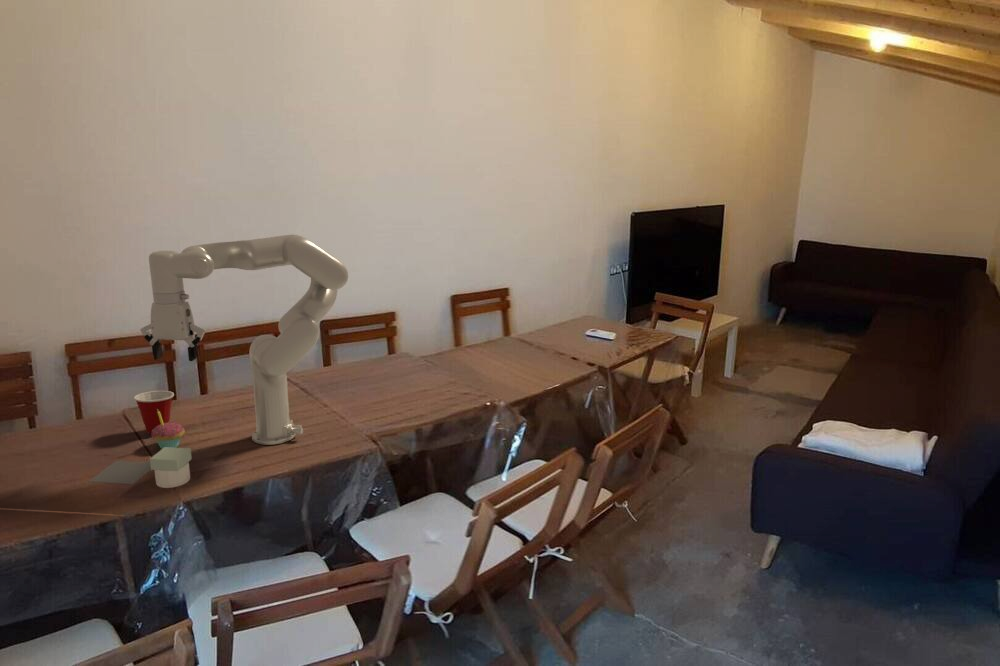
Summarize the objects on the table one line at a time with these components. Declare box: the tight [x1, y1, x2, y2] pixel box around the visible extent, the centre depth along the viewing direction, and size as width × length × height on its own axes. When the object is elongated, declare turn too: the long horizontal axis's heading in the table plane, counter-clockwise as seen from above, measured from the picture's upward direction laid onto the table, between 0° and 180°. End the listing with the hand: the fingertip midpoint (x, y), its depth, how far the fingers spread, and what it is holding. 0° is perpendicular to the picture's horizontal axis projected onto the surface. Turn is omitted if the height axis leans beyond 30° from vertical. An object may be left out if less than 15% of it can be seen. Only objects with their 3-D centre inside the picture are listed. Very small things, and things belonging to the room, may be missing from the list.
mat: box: [88, 460, 152, 485], centre depth 177 cm, size 12×12×1 cm
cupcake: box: [150, 409, 186, 450], centre depth 192 cm, size 9×8×12 cm
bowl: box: [153, 461, 191, 489], centre depth 173 cm, size 8×8×5 cm
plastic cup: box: [133, 390, 175, 435], centre depth 202 cm, size 11×11×12 cm
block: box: [149, 447, 193, 471], centre depth 172 cm, size 7×7×3 cm
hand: (175, 359), depth 182 cm, fingers open, 9 cm apart
